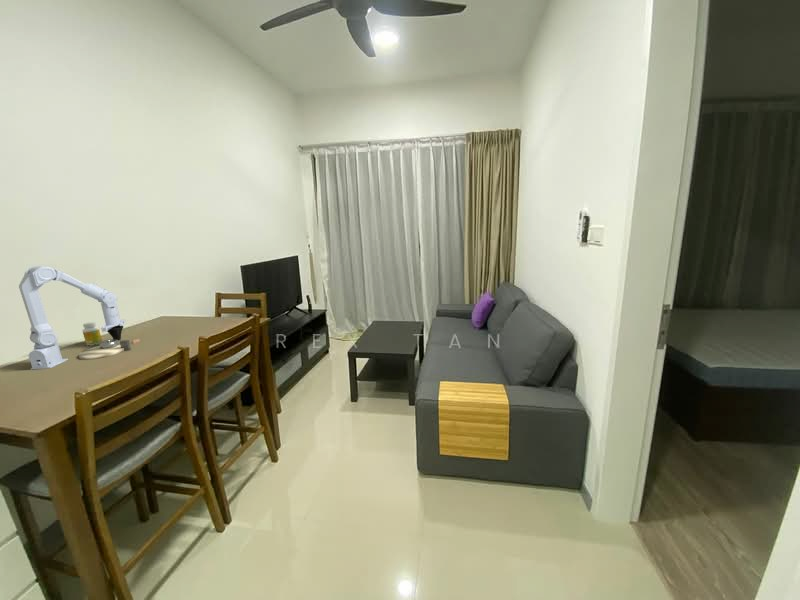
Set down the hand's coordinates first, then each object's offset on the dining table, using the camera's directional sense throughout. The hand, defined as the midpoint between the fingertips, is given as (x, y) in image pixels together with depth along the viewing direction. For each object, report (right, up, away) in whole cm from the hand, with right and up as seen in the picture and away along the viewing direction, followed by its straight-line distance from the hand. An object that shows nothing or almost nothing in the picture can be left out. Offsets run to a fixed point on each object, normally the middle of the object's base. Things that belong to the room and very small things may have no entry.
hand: (117, 340), depth 166 cm
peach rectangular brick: (+7, -2, +4) cm, 8 cm away
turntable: (+3, -4, -9) cm, 10 cm away
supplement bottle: (-16, -2, +4) cm, 16 cm away
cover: (+1, -2, -6) cm, 6 cm away
